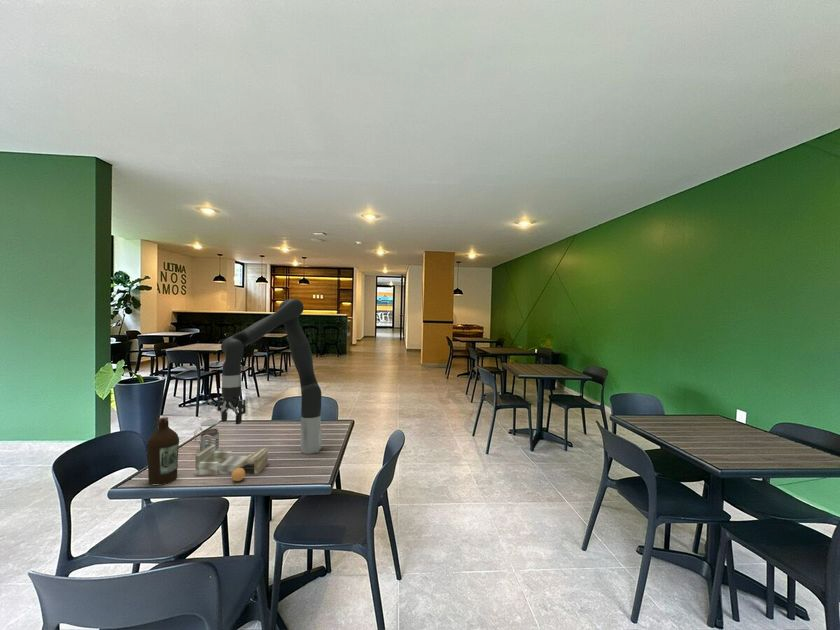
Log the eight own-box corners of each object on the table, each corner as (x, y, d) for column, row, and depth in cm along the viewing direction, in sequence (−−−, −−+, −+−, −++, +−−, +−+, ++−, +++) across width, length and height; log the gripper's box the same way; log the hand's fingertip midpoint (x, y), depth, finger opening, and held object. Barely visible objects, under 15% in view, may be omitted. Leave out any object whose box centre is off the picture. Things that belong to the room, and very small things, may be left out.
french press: (224, 450, 177) (224, 399, 177) (197, 457, 169) (197, 404, 168) (217, 445, 184) (217, 396, 184) (190, 452, 175) (191, 400, 175)
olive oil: (140, 483, 144) (140, 420, 143) (168, 472, 153) (168, 413, 153) (157, 488, 139) (157, 423, 139) (184, 477, 149) (185, 416, 149)
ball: (247, 477, 149) (247, 465, 149) (241, 483, 144) (241, 471, 144) (235, 477, 149) (235, 465, 149) (228, 483, 144) (229, 471, 144)
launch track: (268, 462, 164) (269, 445, 164) (257, 475, 152) (257, 456, 152) (211, 462, 164) (212, 444, 163) (195, 475, 151) (195, 455, 151)
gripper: (251, 385, 157) (250, 422, 157) (227, 382, 163) (227, 418, 163) (236, 388, 150) (235, 427, 150) (212, 385, 156) (211, 422, 156)
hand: (231, 422), depth 157 cm, fingers open, 8 cm apart
